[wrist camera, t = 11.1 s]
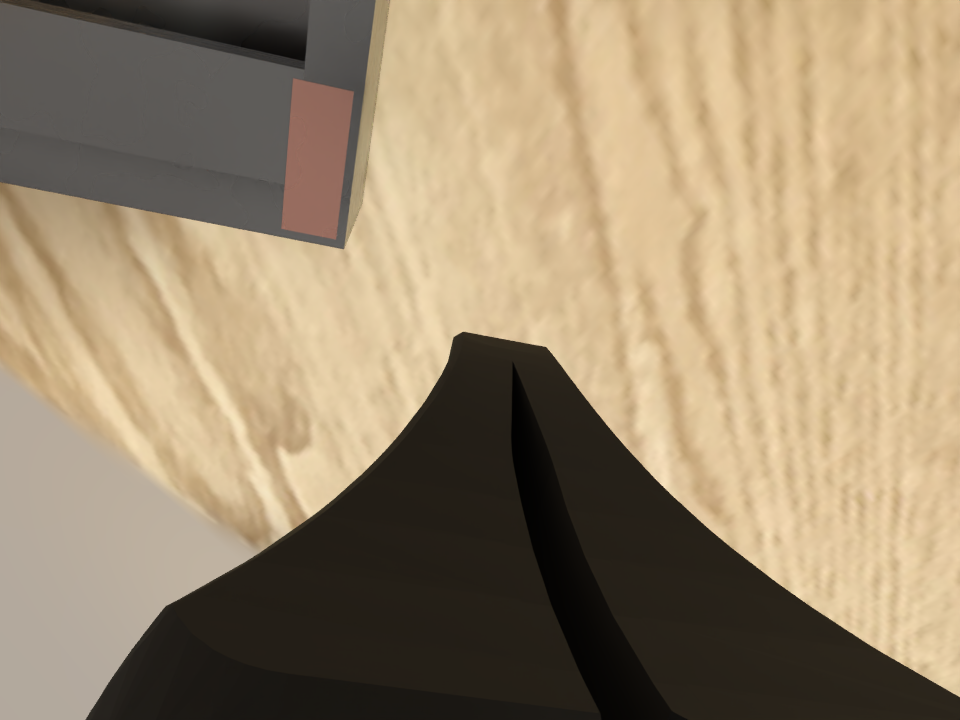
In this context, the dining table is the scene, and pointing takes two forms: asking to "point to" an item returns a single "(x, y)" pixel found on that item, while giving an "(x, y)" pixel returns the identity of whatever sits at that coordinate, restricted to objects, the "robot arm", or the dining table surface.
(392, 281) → the dining table surface
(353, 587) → the robot arm
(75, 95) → the switch box
